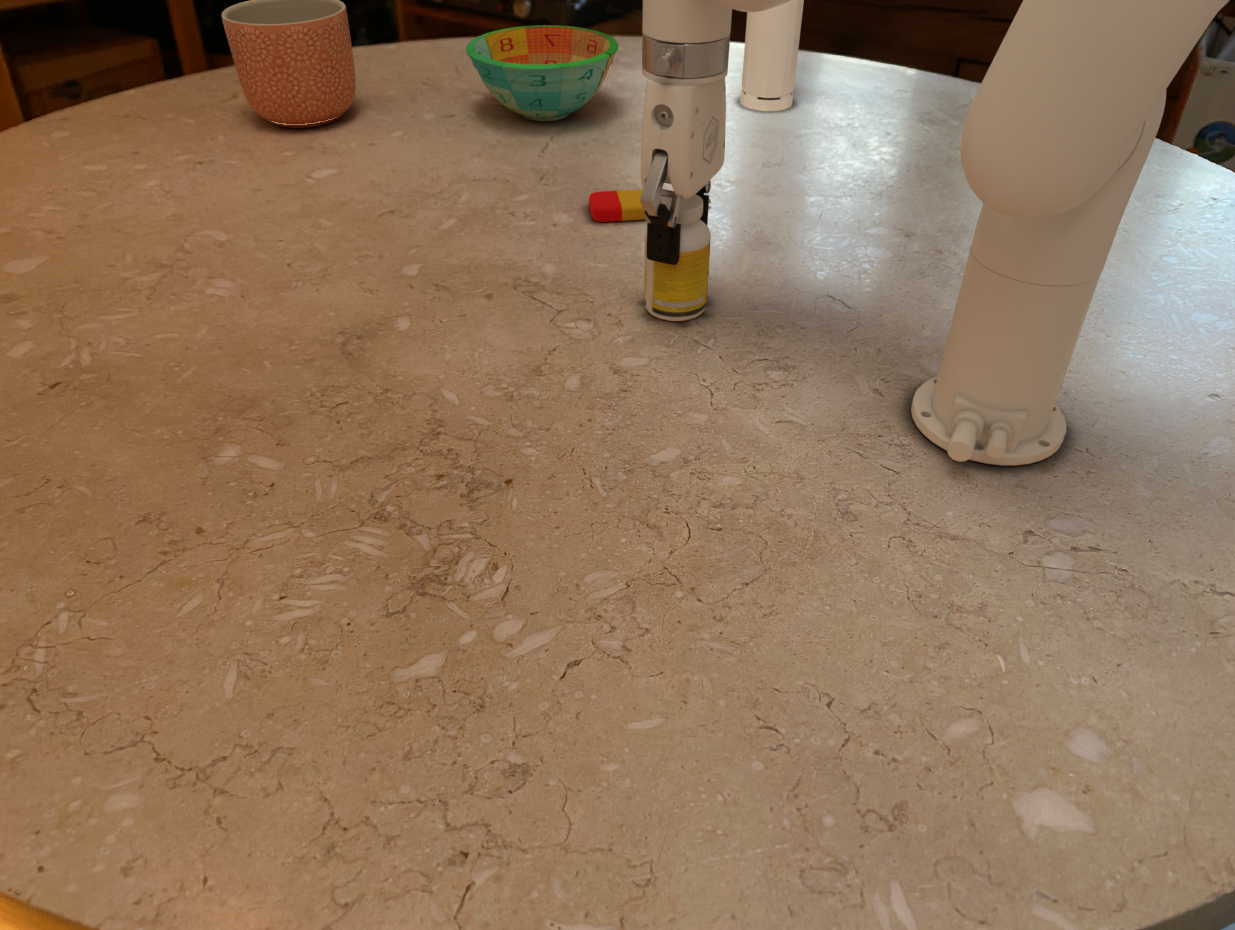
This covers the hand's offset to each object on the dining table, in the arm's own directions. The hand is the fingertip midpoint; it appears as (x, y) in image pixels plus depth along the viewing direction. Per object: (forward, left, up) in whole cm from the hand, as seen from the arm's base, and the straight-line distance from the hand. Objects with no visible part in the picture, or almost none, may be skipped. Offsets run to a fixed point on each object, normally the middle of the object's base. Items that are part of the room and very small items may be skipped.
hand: (677, 244), depth 92 cm
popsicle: (+21, +12, -7) cm, 25 cm away
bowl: (+47, +41, -7) cm, 63 cm away
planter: (+30, +73, -7) cm, 79 cm away
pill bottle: (0, 0, -7) cm, 7 cm away
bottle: (+66, +12, -7) cm, 67 cm away
